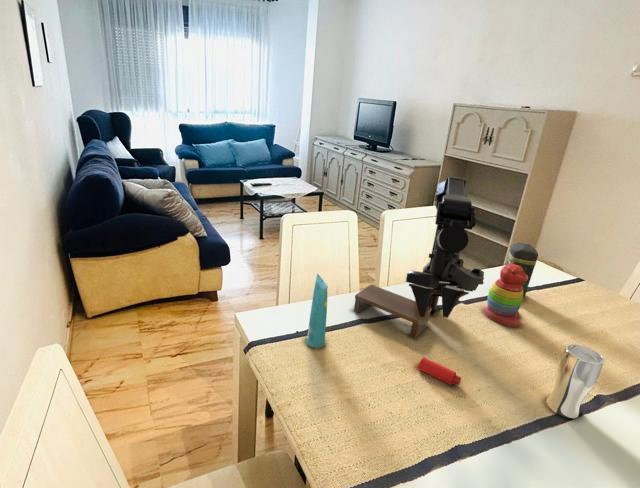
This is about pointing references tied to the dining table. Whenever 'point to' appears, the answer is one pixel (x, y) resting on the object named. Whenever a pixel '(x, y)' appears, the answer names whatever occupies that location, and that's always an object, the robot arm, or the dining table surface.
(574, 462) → the dining table surface
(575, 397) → the silver metal cylinder
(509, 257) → the coffee jar
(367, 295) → the shelf
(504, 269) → the stacking bear
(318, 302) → the tube
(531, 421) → the dining table surface
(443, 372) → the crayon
